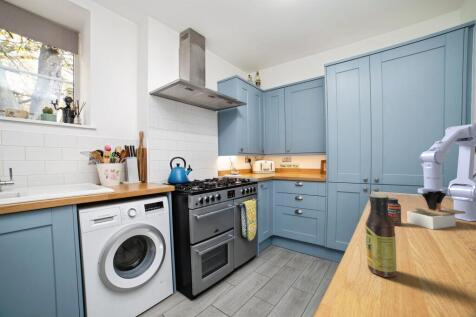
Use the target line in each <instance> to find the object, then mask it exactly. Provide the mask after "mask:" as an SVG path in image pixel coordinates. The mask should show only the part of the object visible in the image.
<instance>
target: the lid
mask: <svg viewBox="0 0 476 317" xmlns="http://www.w3.org/2000/svg"><path fill="white" fill-rule="evenodd" d="M441 204H442V202H441V203H436V209H435V210H433V209H429V208H428V205H427V204H426V206H425V207H418V208H417V207H416V208H415V209H414V211H416V210H419V211H424V212H428V213H433V214H438V215H442V216H444V215H454V214H463V213H466V212H464V211H458V210H454V208H453V209H452V208H446V207H441Z"/></svg>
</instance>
